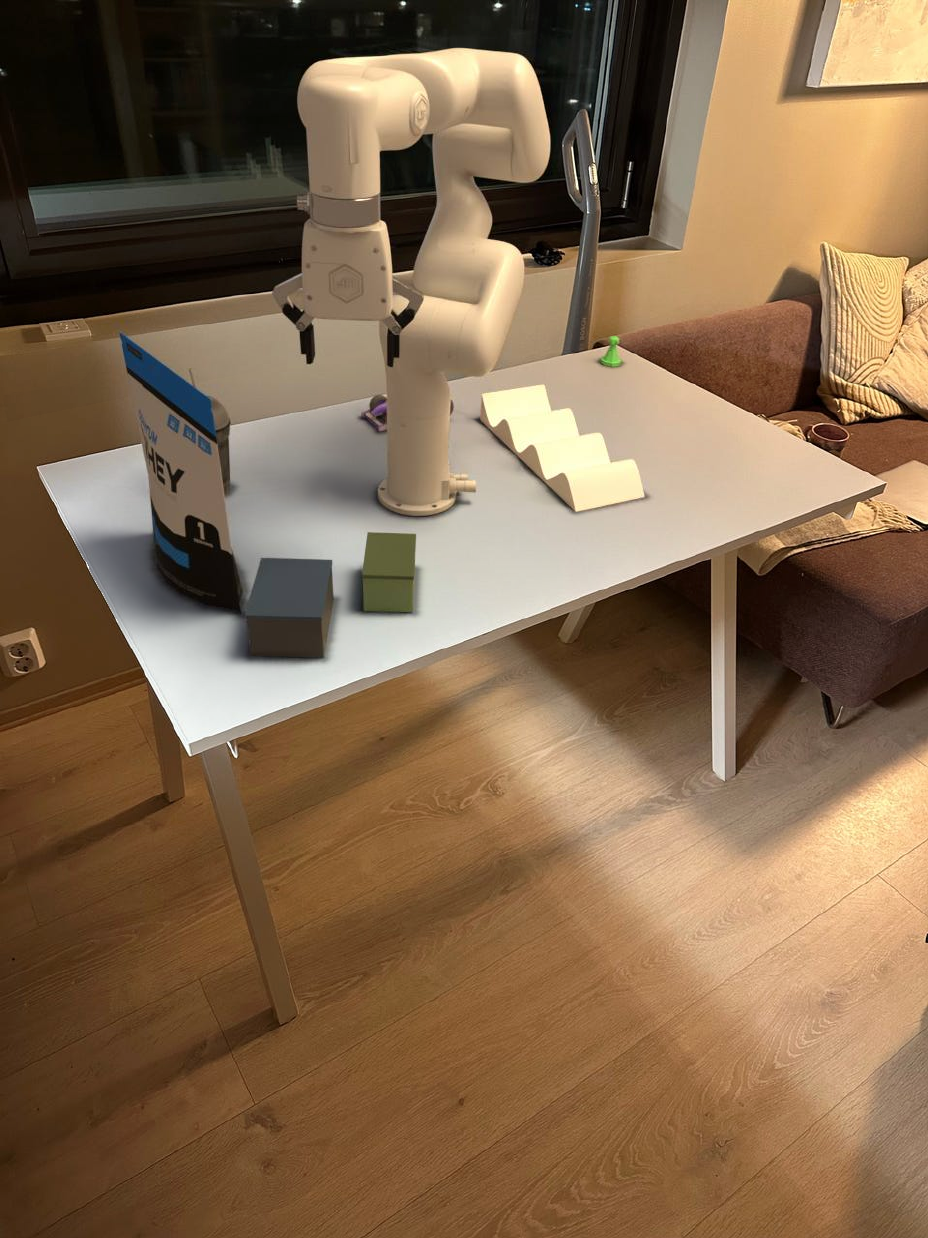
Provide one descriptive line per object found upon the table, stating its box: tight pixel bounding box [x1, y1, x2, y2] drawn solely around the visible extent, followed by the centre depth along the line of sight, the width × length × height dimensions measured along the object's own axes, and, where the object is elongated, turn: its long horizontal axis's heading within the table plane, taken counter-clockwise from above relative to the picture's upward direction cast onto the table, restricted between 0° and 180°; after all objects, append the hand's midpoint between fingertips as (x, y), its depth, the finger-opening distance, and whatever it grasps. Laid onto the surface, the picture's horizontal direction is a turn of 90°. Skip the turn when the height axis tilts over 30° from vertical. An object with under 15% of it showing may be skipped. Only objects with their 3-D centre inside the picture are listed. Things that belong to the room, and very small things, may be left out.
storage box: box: [243, 557, 335, 659], centre depth 112 cm, size 12×9×6 cm
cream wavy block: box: [479, 384, 646, 513], centre depth 153 cm, size 13×35×5 cm, turn 25°
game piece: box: [600, 335, 622, 368], centre depth 187 cm, size 4×4×6 cm
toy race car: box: [361, 394, 455, 433], centre depth 161 cm, size 10×15×6 cm, turn 123°
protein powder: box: [118, 331, 244, 615], centre depth 113 cm, size 10×24×30 cm, turn 40°
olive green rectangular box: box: [361, 531, 417, 613], centre depth 119 cm, size 10×7×6 cm, turn 1°
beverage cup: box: [188, 367, 231, 496], centre depth 133 cm, size 7×7×20 cm
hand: (350, 361), depth 106 cm, fingers open, 9 cm apart
